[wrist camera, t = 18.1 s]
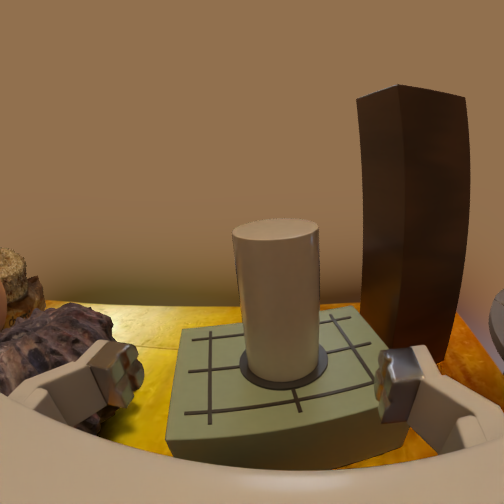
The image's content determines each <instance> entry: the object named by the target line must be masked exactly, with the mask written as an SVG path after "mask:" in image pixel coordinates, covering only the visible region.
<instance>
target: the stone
mask: <svg viewBox="0 0 504 504" xmlns="http://www.w3.org/2000/svg"><path fill="white" fill-rule="evenodd" d="M27 280H28V287H29V288H28V289H27V292H26V294H25V295H24V296H23V297H22V298H20V299H19V300H17V301H15V302H13V303H12V302H11V303H8V304H7V314H6V320H5V324H4V326H3V328H2V330H3V329H6V328H10V327H12V326H13V325H14V324H15V321H16V319H17V317H21V318H23V319H26V318H29V317H30V316H31V314H32V312H33V310H34V309H35V308H38V309H39V310H41V311H43V312H44V310H45V307H46V304H45V298H44V295H43V287H42V285H41V283H40V281H39V278H38V276H34V277H31V278H29V279H27ZM2 330H1V331H0V333H1V332H2Z"/></svg>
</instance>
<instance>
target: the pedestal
mask: <svg viewBox="0 0 504 504" xmlns="http://www.w3.org/2000/svg"><path fill="white" fill-rule="evenodd" d="M356 102H357V111H358V122H359V133H360V145H361V146H360V147H361V163H362V183H363V184H362V186H363V266H362V288H361V304H360V315H361V316H362V317H363V318H364V320H365V321H366V322H367V323H368V324H369V326H370V327H371V328H372V329H373V330H374V331H375V333H376V334H377V335H378V336H379V337H380V339H381V340H382V341H383V342H384V343H385V345H386V346H387V347H388V348H389V349H398V348H408V347H411V346H418V345H425V346H426V347H427V349H428V350H429V352H430V354H431V356H432V358H433V360H434V362H435V363H437V362H440V361H443V360H444V357H445V353H446V350H447V346H448V342H449V339H450V335H451V331H452V327H453V322H454V318H455V313H456V308H457V304H458V299H459V294H460V288H461V282H462V275H463V269H464V262H465V254H466V245H467V236H468V225H469V209H470V208H469V207H470V146H469V129H468V118H467V108H466V100H465V97H461V96H457V95H453V94H449V93H444V92H439V91H434V90H429V89H424V88H418V87H412V86H406V85H399V84H397V85H394V86H391V87H388V88H386V89H383V90H380V91H377V92H374V93H371V94H368V95H366V96H363V97H360V98H357V99H356Z"/></svg>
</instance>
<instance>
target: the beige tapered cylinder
mask: <svg viewBox="0 0 504 504" xmlns="http://www.w3.org/2000/svg"><path fill="white" fill-rule="evenodd" d="M232 239H233V247H234V256H235V265H236V274H237V282H238V291H239V299H240V307H241V316H242V324H243V332H244V340H245V348H246V355H247V363H248V367H249V369H250V370H251V371H252V372H253V373H254V374H255V375H256V376H258V377H260V378H262V379H265V380H268V381H273V382H289V381H294V380H297V379H300V378H303V377H305V376H307V375H308V374H310V373H311V372H312V371H313V370H314V369H315V368H316V366H317V364H318V361H319V332H320V265H319V264H320V261H319V227H318V225H317V224H316V223H314V222H312V221H308V220H303V219H292V218H281V219H268V220H260V221H254V222H250V223H246V224H243V225H241V226H238V227H236V228H235V229H234V230H233V231H232Z"/></svg>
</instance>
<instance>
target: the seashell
mask: <svg viewBox="0 0 504 504" xmlns="http://www.w3.org/2000/svg"><path fill="white" fill-rule="evenodd" d="M113 325H114V324H113V323H112V320H111V317H109V316H107V315H103V314H101V313H100V312H95V311H94V310H92V309H91V307H89V308H87V307H84V306H82V305H80V304H76V303H71V302H70V303H67V304H65V305H63V306H61V307H60V308H58V309H55V308H48V309H46V310H45V311H44V312H43V311H41V310H39V309H38V308H35V309H34V310H33V312H32V314H31V316H30V317H29V318H26V319H23V318H21V317H17V319H16V321H15V324H14V325H13V326H12V327H10V328H6V329H3V330H2V332H1V333H0V393H2V394H4V395H5V396H7V397H8V396H9V395H10V394H11V393H12V392H13V391H14V390H15V389H16V388H17V387H18V386H19V385H20V384H21V383H22V382H23V381H24V380H26V379H29V378H31V377H34V376H37V375H39V374H42V373H44V372H47V371H50V370H52V369H55V368H57V367H60V366H62V365H65V364H67V363H70V362H72V361H73V362H76V361H77V360H78V359H79V358H80V357H81V356H82V355H83V354H84V353H85V352H86V351H87V350H88V349H89V348H90V347H91V346H92V345H93V344H94V343H95V342H96V341H97V340H108V341H114V342H117V341H116V340H115V339H114V338H113V337H112V327H113ZM118 409H120V407H117V406H112V405H108V404H107V406H105V407H104V408H102V409H101V410H99V411H97V412H96V413H94V414H93V415H91V416H90V417H88V418H86V419H85V420H83V421H82V422H80V423H79V424H77V425H75V426H74V427H73V428H76V429H78V430H81V431H84V432H86V433H89V434H92V435H96V434H97V433H98V432H99V431H100V430H101V426H100V423H102V422H104V421H105V420H107V419H108V418H110V417H112V416H113V415H115V411H116V410H118Z"/></svg>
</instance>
